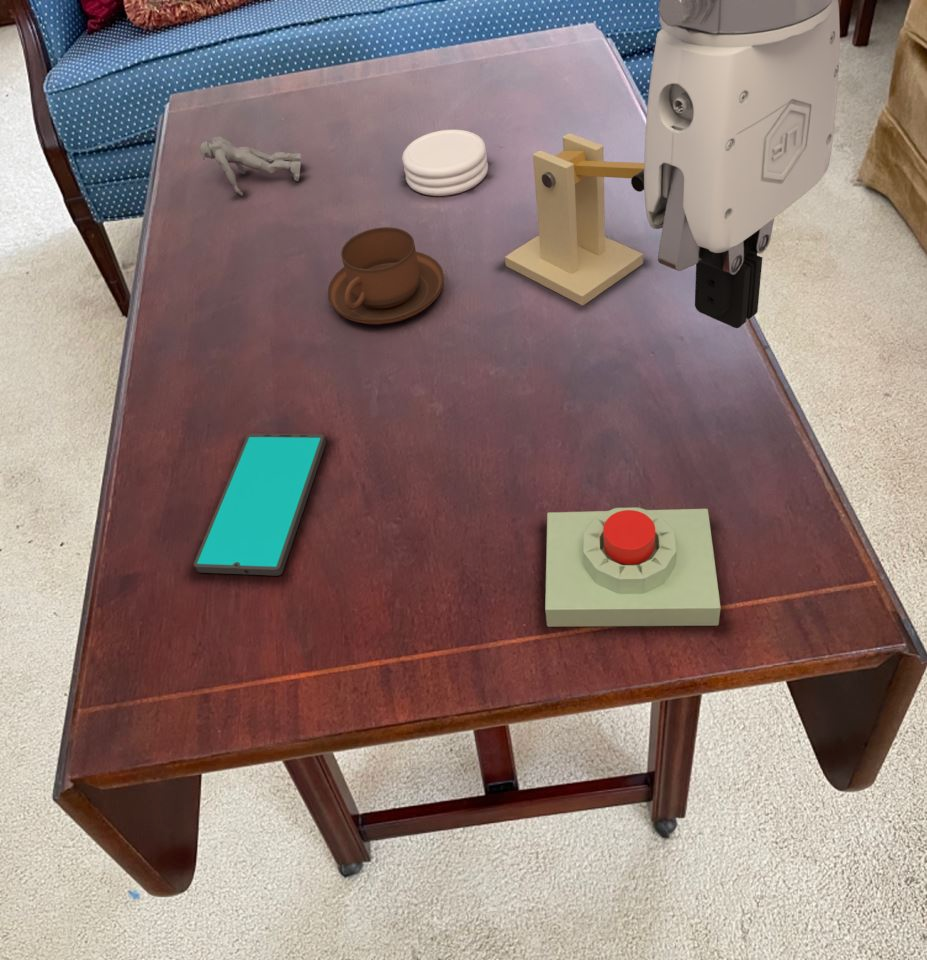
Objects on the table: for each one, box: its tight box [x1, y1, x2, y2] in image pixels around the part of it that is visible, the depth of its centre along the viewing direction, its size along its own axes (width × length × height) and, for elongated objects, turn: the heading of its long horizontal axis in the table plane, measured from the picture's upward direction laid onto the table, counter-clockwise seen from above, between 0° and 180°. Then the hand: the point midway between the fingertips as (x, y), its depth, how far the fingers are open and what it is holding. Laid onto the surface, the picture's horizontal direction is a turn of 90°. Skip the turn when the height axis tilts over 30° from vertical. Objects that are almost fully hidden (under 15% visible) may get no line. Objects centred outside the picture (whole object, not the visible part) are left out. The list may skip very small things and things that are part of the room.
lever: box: [554, 150, 644, 193], centre depth 85 cm, size 13×5×2 cm, turn 42°
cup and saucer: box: [327, 226, 445, 325], centre depth 95 cm, size 12×12×6 cm
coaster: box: [401, 129, 489, 197], centre depth 111 cm, size 10×10×4 cm
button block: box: [544, 506, 721, 628], centre depth 68 cm, size 12×9×4 cm
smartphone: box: [193, 432, 327, 577], centre depth 79 cm, size 7×1×15 cm
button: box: [603, 510, 655, 565], centre depth 66 cm, size 4×4×2 cm
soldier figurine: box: [199, 135, 302, 197], centre depth 116 cm, size 6×5×12 cm
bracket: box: [504, 132, 644, 306], centre depth 92 cm, size 11×9×13 cm
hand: (725, 312), depth 55 cm, fingers closed
